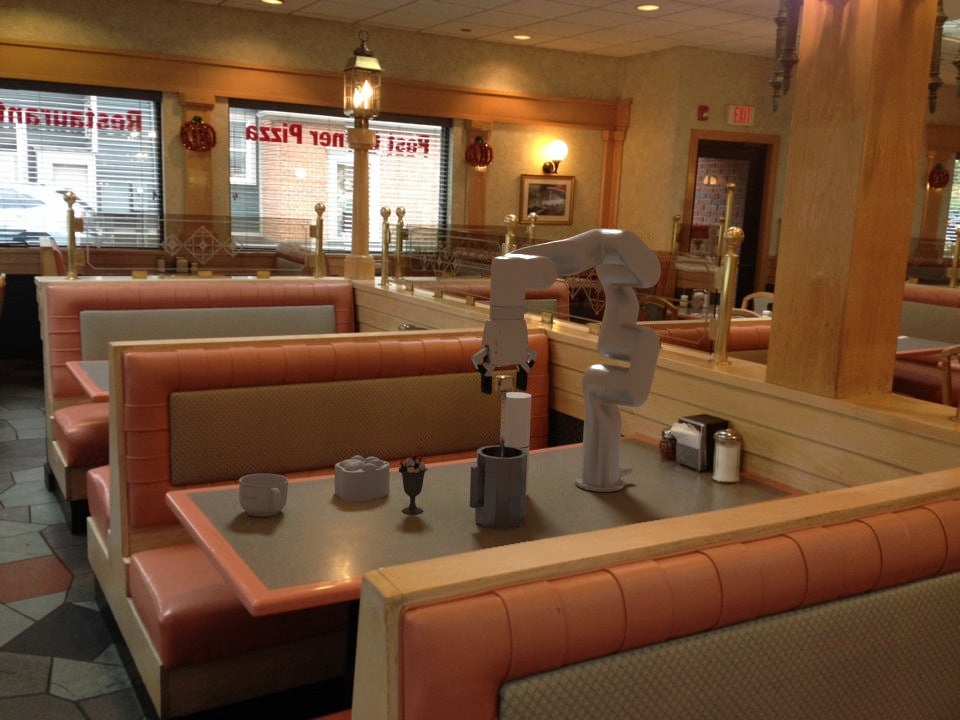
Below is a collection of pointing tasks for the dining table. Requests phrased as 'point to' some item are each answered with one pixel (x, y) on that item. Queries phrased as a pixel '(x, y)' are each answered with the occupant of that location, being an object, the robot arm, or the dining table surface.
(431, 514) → the dining table surface
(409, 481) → the sundae
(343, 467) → the lumpy-topped squat cylinder
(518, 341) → the robot arm
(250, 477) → the teacup
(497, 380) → the plunger
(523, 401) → the cylindrical container
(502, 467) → the press carafe
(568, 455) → the dining table surface
